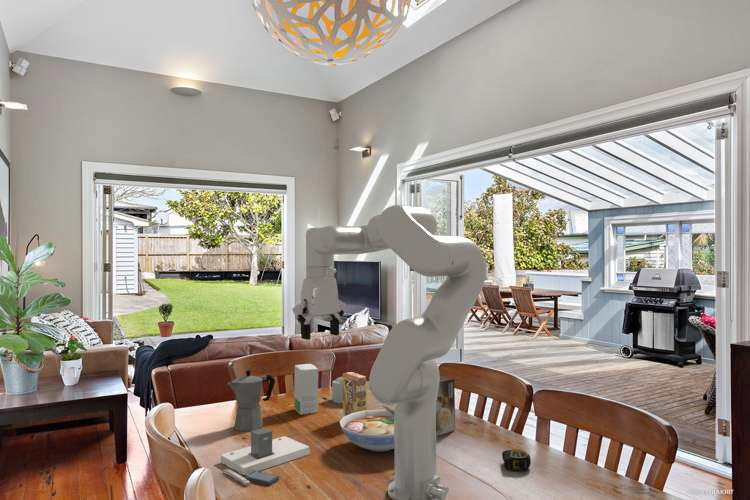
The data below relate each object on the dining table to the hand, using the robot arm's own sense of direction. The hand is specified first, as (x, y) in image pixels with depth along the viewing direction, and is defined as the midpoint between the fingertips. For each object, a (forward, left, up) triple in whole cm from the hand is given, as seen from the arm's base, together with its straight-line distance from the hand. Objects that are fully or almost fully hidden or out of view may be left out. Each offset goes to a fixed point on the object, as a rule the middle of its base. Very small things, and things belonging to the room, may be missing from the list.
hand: (320, 336), depth 140 cm
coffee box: (-9, -38, -32) cm, 51 cm away
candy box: (+16, -26, -32) cm, 45 cm away
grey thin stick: (+4, +23, -32) cm, 40 cm away
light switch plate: (+10, +11, -32) cm, 36 cm away
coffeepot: (+36, 0, -32) cm, 48 cm away
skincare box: (+37, -22, -32) cm, 54 cm away
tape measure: (-40, -30, -33) cm, 60 cm away
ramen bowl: (-6, -16, -32) cm, 37 cm away
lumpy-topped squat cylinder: (+36, -41, -33) cm, 64 cm away
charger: (+9, +13, -32) cm, 36 cm away
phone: (-1, +19, -32) cm, 37 cm away
